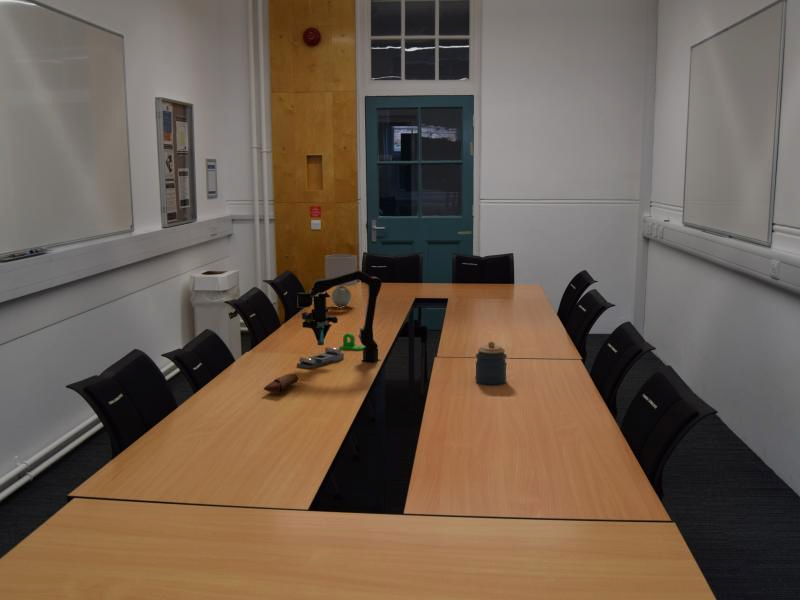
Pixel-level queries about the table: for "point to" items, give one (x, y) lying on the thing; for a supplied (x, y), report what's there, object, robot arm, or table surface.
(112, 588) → the table surface
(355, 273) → the robot arm
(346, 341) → the mechanical part
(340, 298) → the lamp
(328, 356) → the plate
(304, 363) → the lower chain end
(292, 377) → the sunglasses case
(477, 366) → the canister
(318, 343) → the pin
